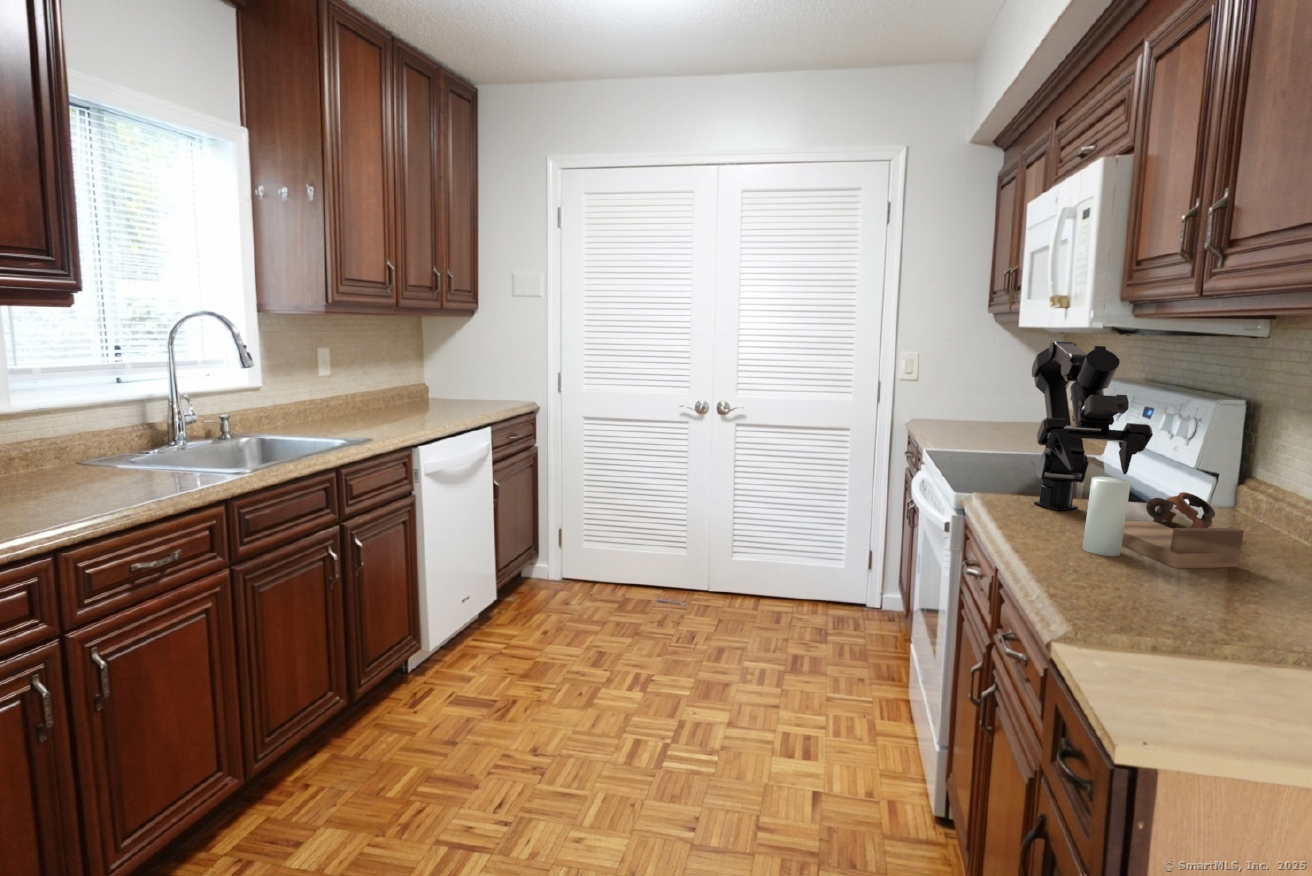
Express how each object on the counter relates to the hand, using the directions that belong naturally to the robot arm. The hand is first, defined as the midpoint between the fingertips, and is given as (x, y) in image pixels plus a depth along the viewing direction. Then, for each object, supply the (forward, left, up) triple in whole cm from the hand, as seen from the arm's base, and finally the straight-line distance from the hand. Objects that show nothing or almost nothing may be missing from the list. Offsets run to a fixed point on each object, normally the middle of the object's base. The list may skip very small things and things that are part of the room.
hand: (1098, 471), depth 147 cm
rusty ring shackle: (-26, -1, -13) cm, 29 cm away
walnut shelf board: (-8, +9, -13) cm, 18 cm away
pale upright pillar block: (+4, +6, -13) cm, 15 cm away
